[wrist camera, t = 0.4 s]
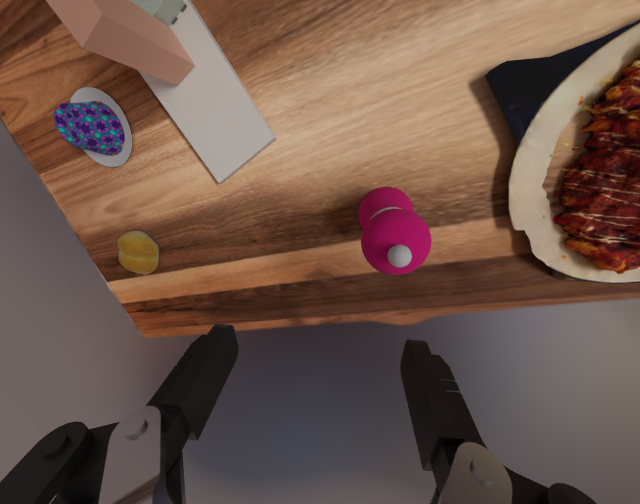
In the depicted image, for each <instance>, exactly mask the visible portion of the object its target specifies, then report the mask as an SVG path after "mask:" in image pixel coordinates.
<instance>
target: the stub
mask: <svg viewBox="0 0 640 504" xmlns="http://www.w3.org/2000/svg"><path fill="white" fill-rule="evenodd" d="M46 1H47V2H48V4H49V5H50V6H51V8H52V9H53V10H54V12H55V13H56V14H57V16H58V17H59V18H60V20H61V21H62V22H63V24H64V25H65V26H66V27H67V29H68V30H69V31H70V33H71V34H72V35H73V37H74V38H75V39H76V41H77V42H78V43H79V45H80V46H81V47H82V48H83V49H86V50H88V51H91V52H93V53H96V54H99V55H101V56H104V57H106V58H109V59H111V60H114V61H116V62H119V63H121V64H124V65H126V66H129V67H132V68H134V69H137V70H139V71H142V72H144V73H147V74H149V75H152V76H154V77H157V78H159V79H162V80H165V81H167V82H170V83H172V84H175V85H178V84H179V83H180V82H181V81H182V80H183V78H184V77H185V76H186V75H187V74H188V73H189V71H190V70H191V69H192V68H193V67H194V66H195V65H194V63H193V62H192V60H191V59H190V57H189V56H188V54H187V52H186V51H185V49H184V48H183V46H182V45H181V43H180V42H179V40H178V39H177V37H176V36H175V34H174V33H173V31H172V30H171V28H170V27H169V26H167V25H166V24H164V23H163V22H161V21H160V20H158V19H157V18H155V17H154V16H152V15H151V14H149V13H148V12H146V11H145V10H143V9H142V8H140V7H139V6H137V5H136V4H134V3H133V2H132V1H130V0H46Z"/></svg>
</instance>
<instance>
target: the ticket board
mask: <svg viewBox="0 0 640 504" xmlns="http://www.w3.org/2000/svg"><path fill="white" fill-rule="evenodd" d="M130 1H132V2H133V3H134V4H136V5H137V6H139V7H140V8H142V9H143V10H145V11H146V12H148V13H149V14H151V15H152V16H154V17H155V18H157V19H158V20H160V21H161V22H163V23H164V24H166V25H167V26H169V27H170V28H171V30H172V31H173V33H174V34H175V36H176V37H177V39H178V40H179V42H180V43H181V45H182V46H183V48H184V49H185V51H186V52H187V54H188V56H189V57H190V59H191V60H192V62H193V63H194V65H195V66H194V67H193V68H192V69H191V70H190V71H189V73H188V74H187V75H186V76H185V77H184V78H183V80H182V81H181V82H180V83H179V84H178V85H175V84H172V83H170V82H167V81H165V80H162V79H159V78H157V77H154V76H152V75H149V74H147V73H144V72H142V71H139V70H138V71H139V73H140V74H141V76H142V77H143V78H144V80H145V81H146V82H147V84H148V85H149V87H150V88H151V89H152V91H153V92H154V94H155V95H156V96H157V98H158V99H159V101H160V102H161V103H162V105H163V106H164V108H165V109H166V110H167V112H168V113H169V115H170V116H171V117H172V119H173V120H174V121H175V123H176V124H177V126H178V127H179V128H180V130H181V131H182V133H183V134H184V135H185V137H186V138H187V140H188V141H189V142H190V144H191V145H192V147H193V148H194V149H195V151H196V152H197V154H198V155H199V156H200V158H201V159H202V160H203V162H204V163H205V165H206V166H207V167H208V169H209V170H210V172H211V173H212V174H213V176H214V177H215V179H216V180H217V181H218V183H224V182H225V181H226V180H227V179H228V178H230V177H231V176H232V175H233V174H235V173H236V172H237V171H238V170H239V169H241V168H242V167H243V166H244V165H246V164H247V163H248V162H249V161H250V160H252V159H253V158H254V157H255V156H257V155H258V154H259V153H260V152H261V151H263V150H264V149H265V148H266V147H268V146H269V145H270V144H271V143H273V142H274V141H275V140H276V139H277V138H276V137H275V135H274V133H273V132H272V130H271V128H270V127H269V125H268V124H267V122H266V120H265V119H264V117H263V116H262V114H261V112H260V111H259V109H258V108H257V106H256V104H255V103H254V101H253V100H252V98H251V96H250V95H249V93H248V91H247V90H246V88H245V87H244V85H243V83H242V82H241V80H240V79H239V77H238V75H237V74H236V72H235V71H234V69H233V67H232V66H231V64H230V63H229V61H228V59H227V58H226V56H225V54H224V53H223V51H222V50H221V48H220V46H219V45H218V43H217V42H216V40H215V38H214V37H213V35H212V34H211V32H210V30H209V29H208V27H207V26H206V24H205V22H204V21H203V19H202V18H201V16H200V14H199V13H198V11H197V9H196V8H195V6H194V5H193V3H192V1H191V0H130Z"/></svg>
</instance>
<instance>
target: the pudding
mask: <svg viewBox="0 0 640 504" xmlns="http://www.w3.org/2000/svg"><path fill="white" fill-rule="evenodd" d="M91 101H99V102H102V103H104V104H106V105H107V106H109V107H110V108H111V109H112V110H113V111H114V112H115V114H116V115H117V116H118V118H119V119H118V118H117V116H115V115H113V114H112V113H111V111H110V108H109V107H107V106H106V105H104V104H96V103H95V102H91ZM54 118H55V126H56V128H57V130H58V131H60V134H61V136H62V137H63V139H64V140H66V141H67V142H69V143H71V144H72V145H73V146H75V147H78V148H81V149H83V150H84V151H85V152H86V153H87V154H88V155H89V156H90V157H91V158H92V159H93V160H95V161H96V162H98V163H100V164H101V165H104V166H107V167H118V166H120V165H122V164H124V163H125V162H126V161H127V159H128V158H129V156H130V153H131V149H132V136H131V131H130V127H129V124H128V122H127V119H126V117H125V115H124V113H123V112H122V110H121V109H120V107H119V106H118V105H117V103H116V102H115V101H114V100H113V99H112V98H111V97H110V96H108V95H107V94H106V93H104V92H103V91H101V90H99V89H96V88H93V87H84V88H81V89H79V90H77V91H76V92H75V93H74V94H73V96H72V98H71V100H70V103H63V104H60V105H59V106H58V109H57V110H55V111H54ZM120 122H121V123H120ZM121 124H122V126H123V129H124V134H125V138H124V134H123V132H122V131H121ZM124 140H125V144H124V148H123V150H122V149H121V144H123V143H124ZM121 150H122V151H121ZM112 153H115V154H118V153H119V154H118V155H115V156H107V155H112Z"/></svg>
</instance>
